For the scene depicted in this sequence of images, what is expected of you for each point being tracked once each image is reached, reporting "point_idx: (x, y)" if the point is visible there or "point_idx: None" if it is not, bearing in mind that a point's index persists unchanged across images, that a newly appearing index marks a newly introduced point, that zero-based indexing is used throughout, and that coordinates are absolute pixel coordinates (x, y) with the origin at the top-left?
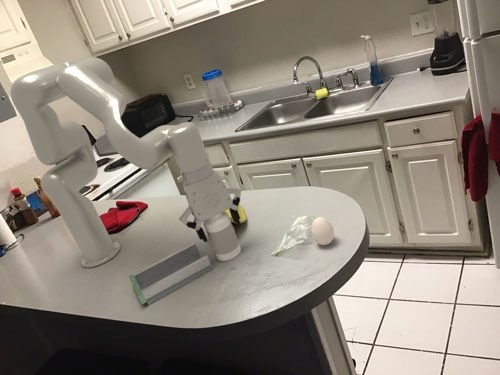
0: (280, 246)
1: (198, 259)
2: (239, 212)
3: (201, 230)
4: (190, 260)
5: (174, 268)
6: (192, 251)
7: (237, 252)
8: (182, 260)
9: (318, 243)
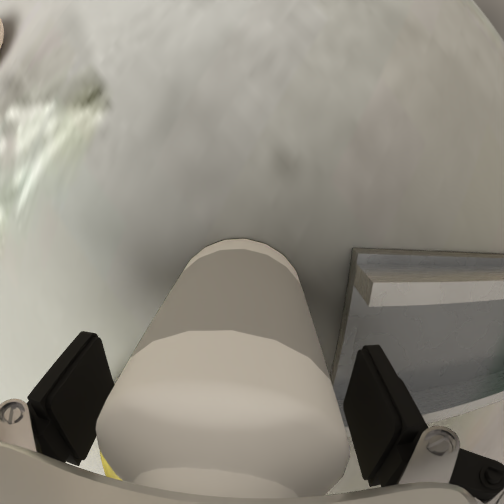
0: (58, 139)
1: None
2: None
3: (412, 415)
4: None
5: (439, 366)
6: None
7: (210, 247)
8: None
9: (2, 38)
